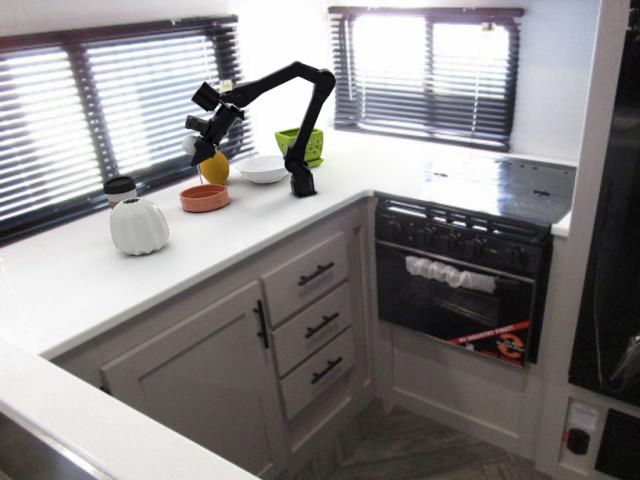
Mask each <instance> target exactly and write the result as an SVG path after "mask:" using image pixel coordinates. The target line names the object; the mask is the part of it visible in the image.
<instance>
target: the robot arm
mask: <svg viewBox="0 0 640 480" xmlns="http://www.w3.org/2000/svg"><path fill="white" fill-rule="evenodd" d="M295 78H300V79H302V80H305V81H307V82H309V83H311V84H313V85H312V91H311V97H310V100H309V102H308V104H307V107H306V110H305V112H304V115H303V118H302V121H301V123H300V126H299V127H300V128H299V131H298V133H297V136H296V139H295V140H294V142H293V143H292V144H289V143H287V146H286V150H285V152H284V153H283V154H282V156H283V160H284V166H285V168H286V170H287V171H288V172H289V173H290V174H291V175H290V179H291V180H289V182H290V190H291V194H293V195H294V196H295V197H297V198H304V197H309V196H312V195H317V194H318V191H316V188H315V181H314V173H312V170H311V167H310V165H309V163H307V162H306V161H305V160H304V159H305V153H306V147H307V144H308V141H309V139H310V136H311V134H312V131H313V129H314V128H315V126H316V124H317V121H318V119H319V116H320V113H321V111H322V109H323V105H324V104H325V102H326V101H327V100H328V98H329V97H330V96H331V94H332V92H333V91H334V89H335V87H336V85H337V79H336V76H335V74H334V73H333V72H332V71H331V70H330V69H328V68H320V69H319V68H317V67H315V66H312V65H309V64H306V63H304V62H302V61H300V60H294V61H292V62H291V63H290V64H287V65H286V66H283V67H281V68H279V69H277V70H275V71H273V72H271V73H269V74H267V75H264V76H263V77H260V78H258V79H255V80H251V81H245V82H241V83H238V84H235V85H233V87H232V88H231V89H230V90H229V89H228V90H224V91H222V92H220V91H218V90H217V89H215V88H214V87H213V86H211V84H210V83H209V82H208V81H206V80H204V81H203V82H202V84H201V85H200V87H199V88H197V90H196V91H195V92H194V94H193V95H192V97H191V99H190V101H191V102H193V104H195V105H196V106H198V107H199V108H201V109H202V110H203V111H205V112H206V113H209V112H210V113H214V112H215V113H214V114H213V116H212V117H210V118H209V119H208V120H206V119H204V118H201V117H198V116H194V115H191V114H187V115H186V117H185V118H186V119H185V123H184V129H186V130H192V131H195V132H197V133H198V135H197V137H198V138H197V140H196V141H195V143H194V147H195V149H196V152H195V154H194V156H193V157H192V159H191V162H190V164H189V166H190V167H192V168H195V167H197V165H198V166H199V165H200V163H202V162H203V161H205V160H207V159H209V158H212V159H213V157H214V156H215V154H216V152H217V151H218V147H219V146H221V142H222V141H223V140H224V138H225V137H226V136H227V135H228V134H229V131H230V130H231V128H232V127H233V126H234V124H235V123H236V122H237V120H238V119H240V120H241V121H242V122H244V121H246V115H245V109H243V108H246V107H247V106H249V105H250V104H251V103H253V102H254V101H256V100H257V99H258V98H259V97H260V96H262V95H263V94H265V93H268V92H269V91H271V90H274V89H275V88H277V87H279V86H282V85H284V84H286V83H288V82H290V81H292V80H294V79H295ZM219 104H220V105H219ZM229 104H231V105H229ZM218 106H219V107H218ZM217 107H218V109H217ZM216 109H217V110H216ZM215 110H216V111H215Z"/></svg>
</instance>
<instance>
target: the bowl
mask: <svg viewBox="0 0 640 480" xmlns="http://www.w3.org/2000/svg"><path fill="white" fill-rule="evenodd" d="M235 170H237V171H238V172H239V173H240V175H241V177H242V178H245V179H247V180H249V181H250V182H253V183H256V184H273V183H276V182H278V181H280V180H281V179H283V178H285V177H286V176H287V175H288V174H289V173H290V172H288V171H287V170H286V168H285V166H284V160H283V155H281V154H280V155H277V154H276V155H273V154H272V155H261V156H257V157H252V158H248V159H245V160H242V161H240V162H239V163H237V164H236V165H235Z"/></svg>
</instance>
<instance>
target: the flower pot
mask: <svg viewBox="0 0 640 480" xmlns="http://www.w3.org/2000/svg"><path fill="white" fill-rule="evenodd" d="M299 128H300V126H298V127H294V128H293V127H292V128H288V129H284V130H279V131H275V132H274V138H275V141H276V145H277V146H278V149H279V151H280V152H281V154H282V155H283V153H284V152H285V150H286V146H287V143H289V144H292V143H293V142H294V140H295V139H296V136H297V133H298V131H299ZM323 151H324V130H322V129H319V128H317V127H314V129H313V131H312V134H311V136H310V139H309V141H308V144H307V147H306V153H305V159H304V160H305V161H306V162H307V163H309V165H310V168H312V167H316V166H320V165H321V164H322V163H323V162H324V158H322V157H321V156H322V154H323Z"/></svg>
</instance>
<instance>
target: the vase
mask: <svg viewBox="0 0 640 480" xmlns="http://www.w3.org/2000/svg"><path fill="white" fill-rule="evenodd" d="M109 227H110V236H111V239H112V243H113V245H114V247H115V249H117V250H119V251H120V252H122V253H124V254H125V255H128V256H129V255H131V256H132V255H135V256H142V255H144V254H145V255H147V254H148V255H149V254H150V253H152V252H156V251H159V250H160V249H161V248H162V247H164V246H166V244H167V242H168V239H169V238H170V234H171V232H170V227H169V224H168V221H167V219H166V217H165V215H164V213H163V211H162V210H161V208H160V207H159V206H158V205H157V204H155V203H154V202H152V201H151V200H148V199H146V198H142V197H139V196H138V197H137V198H130V199H125V200H123V201H121V202H120V203H118V204H117V205H116V206H115V207H114V209H113V210H112V209H111V211H110V213H109Z"/></svg>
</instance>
